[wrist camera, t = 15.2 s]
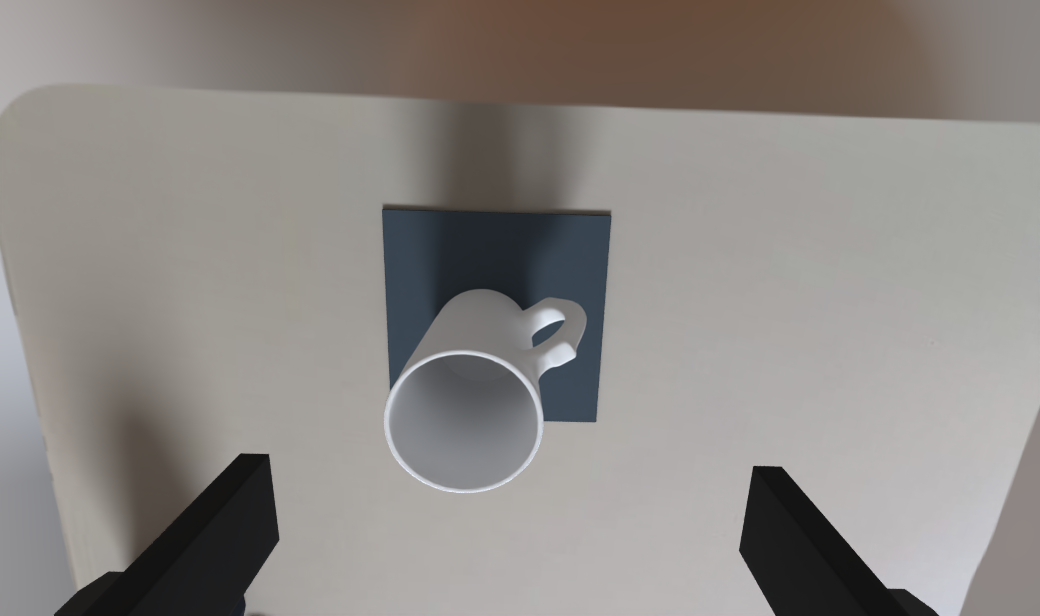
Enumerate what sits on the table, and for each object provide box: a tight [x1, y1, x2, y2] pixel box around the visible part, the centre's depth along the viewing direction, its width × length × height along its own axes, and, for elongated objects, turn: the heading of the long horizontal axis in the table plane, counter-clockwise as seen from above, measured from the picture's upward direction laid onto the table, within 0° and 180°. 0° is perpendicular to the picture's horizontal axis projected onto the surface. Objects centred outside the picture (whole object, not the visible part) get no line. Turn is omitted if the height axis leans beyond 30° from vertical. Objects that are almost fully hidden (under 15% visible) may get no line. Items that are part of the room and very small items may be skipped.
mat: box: [382, 209, 611, 422], centre depth 33 cm, size 14×14×1 cm
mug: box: [384, 289, 587, 493], centre depth 27 cm, size 10×7×12 cm, turn 122°
